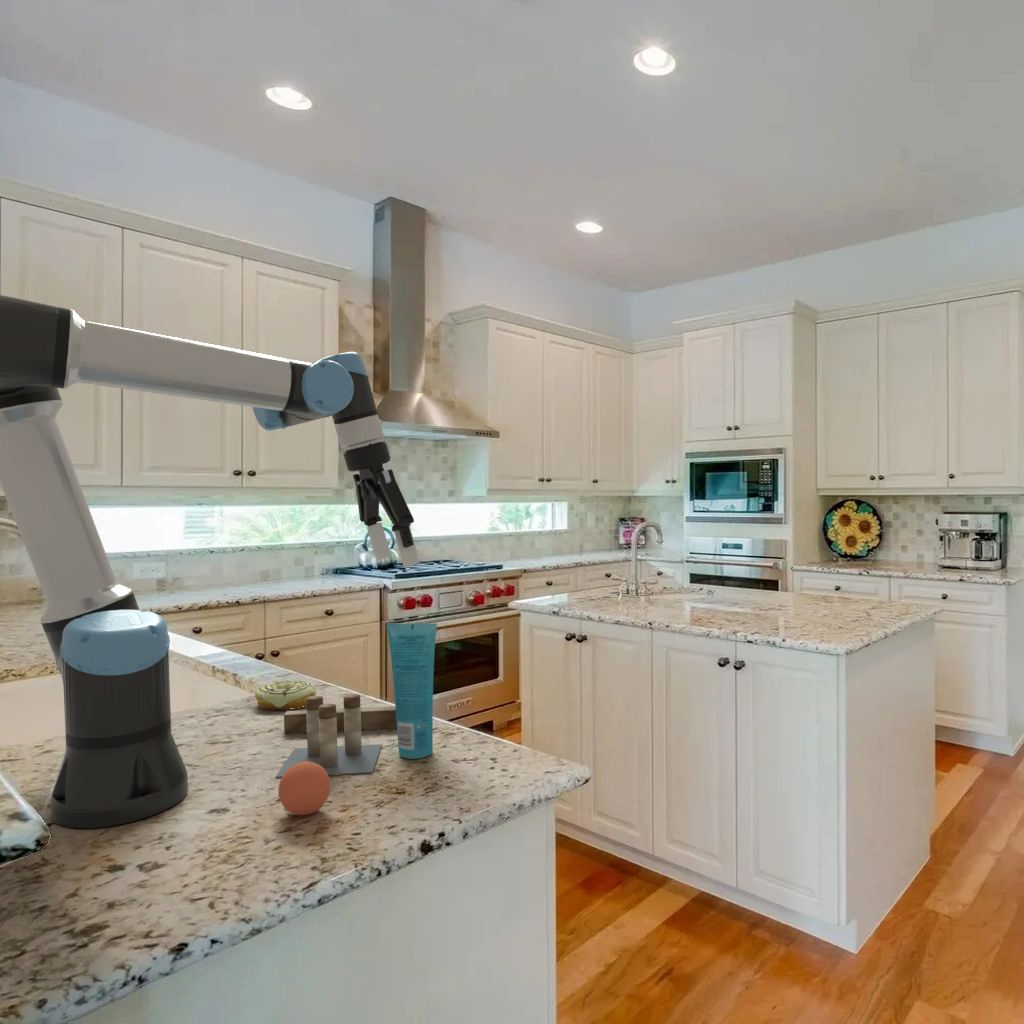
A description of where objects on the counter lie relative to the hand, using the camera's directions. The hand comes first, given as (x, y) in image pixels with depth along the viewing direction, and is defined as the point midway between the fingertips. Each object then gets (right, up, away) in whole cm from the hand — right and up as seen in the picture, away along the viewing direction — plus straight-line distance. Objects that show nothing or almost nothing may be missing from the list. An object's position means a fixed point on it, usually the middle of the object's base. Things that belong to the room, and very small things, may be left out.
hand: (397, 561), depth 126 cm
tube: (+6, -27, -21) cm, 35 cm away
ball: (-5, -24, -41) cm, 48 cm away
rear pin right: (-9, -27, -21) cm, 35 cm away
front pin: (-6, -27, -26) cm, 38 cm away
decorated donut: (-22, -27, +6) cm, 35 cm away
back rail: (-7, -27, -9) cm, 29 cm away
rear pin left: (-3, -27, -21) cm, 34 cm away
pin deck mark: (-6, -27, -24) cm, 36 cm away
